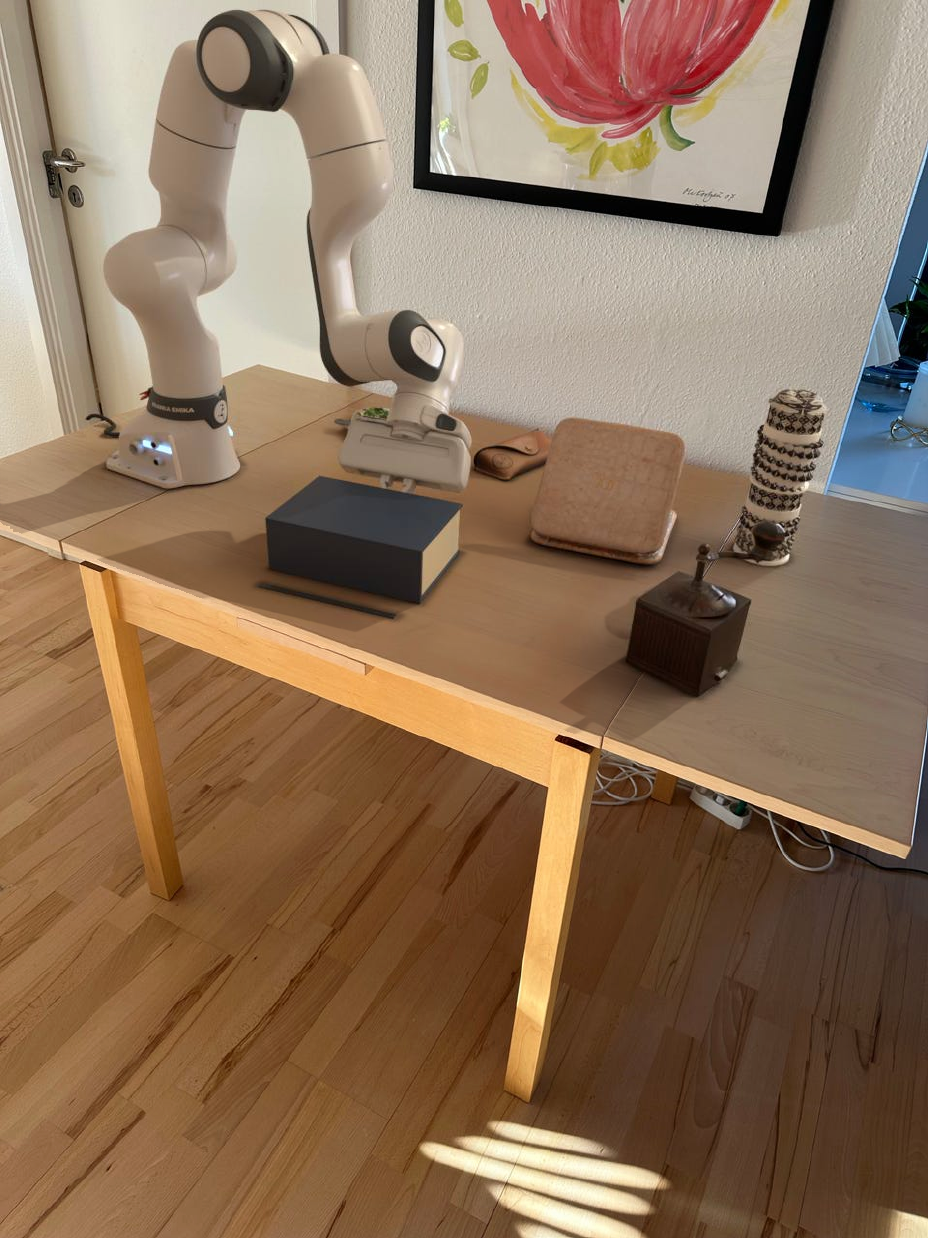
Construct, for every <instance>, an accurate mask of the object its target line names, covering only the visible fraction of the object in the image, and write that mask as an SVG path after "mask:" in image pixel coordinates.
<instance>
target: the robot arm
mask: <svg viewBox="0 0 928 1238" xmlns="http://www.w3.org/2000/svg"><path fill="white" fill-rule="evenodd" d="M247 110H248V111H261V112H269V113H276V112H278V111H279V110H281V111H283V112H285V113H286V114H288V115H289V116H290V117H291V118H292V119H293V121H294V123H295V124H296V126H297V128H298V131H299V134H300V137H301V141H302V144H303V149H304V152H305V157H306V160H307V165H308V169H309V173H310V174H309V175H310V181H311V202H310V208H309V210H308V211H307V214H306V238H307V239H306V240H307V247H308V254H309V261H310V268H311V274H312V279H313V287H314V288H313V289H314V294H315V300H316V306H317V313H318V321H319V322H318V323H319V354H320V360H321V362H322V365H323V367H324V368H325V370H326V371H327V373H328V374H329V375H330V376H331V378H332V379H333V380H334V381H336V382H337V383H338V384H340V385H342V386H345V387H355V386H360V385H364V384H370V383H374V382H387V381H391V382H392V383H394V384H395V385H396V391H395V392H394V395H393V397H392V400H391V404H390V407H389V409H390V410H389V413H388V416H387V419H386V418H379V417H370V416H367V415H362V416H361V417H358V418H356V419H354V420H352V421H351V420H350V421H351V423H350V425H349V429H347V434H346V437H345V439H344V440H343V442H342V445H341V447H340V450H339V452H338V455H337V461H338V464H339V466H340V467H341V468H342V469H343V471H344V472H345V473H347V474H353V475H357V476H362V477H363V476H364V477H368V478H374V479H379V484H380V488H385V489H389V488H393V485H394V483H402V485H403V488H402V489H401V490H400V492H405V493H410V494H415V491H416V489H417V486H419V487H422V488H429V489H433V490H439V491H444V492H450V493H455V494H460V493H462V492H463V491H464V490H465V489H466V488H467V485H468V483H469V478H470V473H471V464H472V458H471V454H470V452H469V450H470V449H471V447H472V444H473V440H472V436H471V433H470V431H469V429H468V427H467V426H466V424H465V423H464V421H462V420H461V419H459V418H457V417H455V416H453V415H451V414H450V401H451V399H452V397H453V395H454V394H455V392H456V390H457V386H458V383H459V380H460V375H461V372H462V367H463V364H464V363H463V362H464V355H465V354H464V353H465V343H464V342H465V340H464V336H463V335H462V332H461V331H460V330H459V329H458V328H457V327H456V326H455V325H454V324H452V323H451V322H449V321H448V320H446V319H443V318H440V317H428V318H425V317H423V316H422V315H421V314H419V312H416V311H415V310H412V309H398V310H388V311H382V312H379V313H373V314H365V315H364V314H363V315H362V314H361V313H360V312H359V310H358V307H357V301H356V294H355V293H356V292H355V286H354V278H353V271H352V264H351V253H352V248H353V244H354V242H355V240H356V239H357V237H358V236H359V234H360V233H361V232H362V231H363V230H364V229H365V228H366V227H367V226H368V225H369V224H370V223H371V222H373V221H374V220H375V219H376V218H377V217H378V216H379V215H380V214H381V213H382V211H383V210H384V209H385V207H386V206H387V204H388V202H389V200H390V198H391V196H392V192H393V189H394V181H395V180H394V165H393V161H392V155H391V151H390V148H389V144H388V143H389V142H388V140H387V135H386V131H385V126H384V124H383V120H382V116H381V114H380V110H379V107H378V104H377V100H376V98H375V95H374V92H373V90H372V87H371V85H370V83H369V79H368V78H367V76H366V73H365V71H364V69H363V67H362V66H361V64H360V63H359V62H358V61H356V60H355V59H354V58H352V57H351V56H348V55H346V54H345V55H344V54H340V53H331V52H330V49H329V46H328V43H327V42H326V39H325V38H324V36H323V35H322V33H321V32H320V30H318V28H316V27H315V25H314V24H312V23H311V22H309V21H308V20H306V19H304V18H302V17H301V16H298V15H295V14H287V13H284V12H281V11H276V10H271V9H258V10H241V9H231V10H227V11H223V12H221V13H217V15H215V16H213V17H211V18H210V19H209V20H208V21H207V22H206V23H205V24H204V25H203V27H202V29H201V31H200V32H199V36H198V38H197V39H191V40H186V41H183V42H181V43H180V44H179V45H177V47H175V49H174V51H173V52H172V55H171V58H170V61H169V63H168V66H167V69H166V73H165V75H164V78H163V83H162V86H161V90H160V94H159V99H158V104H157V109H156V115H155V120H154V127H153V135H152V141H151V149H150V156H149V164H148V171H147V172H148V173H147V174H148V178H149V181H150V183H151V185H152V186H153V188H154V189H155V190H156V191H157V192H158V197H159V205H160V218H159V221H158V223H157V225H156V226H155V227H151V228H146V229H142V230H139V231H134V232H131V233H129V234H128V235H126V236H125V237H123V238H122V239H120V240H119V241H118V242H116V243H115V244H113V245H112V246H111V247H110V248H109V249H108V250H107V252H106V254H105V256H104V260H103V264H102V265H103V267H102V269H103V277H104V281H105V283H106V286H107V288H108V290H109V292H110V293H111V295H112V296H113V297H114V299H115V300H116V301H117V302H118V303H120V304H121V305H122V306H123V307H124V308H126V309H127V310H128V311H129V312H130V313H131V314H132V316H133V317H134V319H135V321H136V323H137V325H138V328H139V329H140V331H141V334H142V337H143V340H144V343H145V347H146V352H147V359H148V365H149V370H150V378H151V383H152V386H150V387H148V388H147V390H145V391H143V392H141V393H139V396H141V397H140V398H139V400H140V401H143V400H146V399H147V403H146V408H145V409H144V410H142V411H141V412H140V413H139V414H137V415H136V416H135V417H134V418H132V419H131V420H130V421H129V422H128V423H126V424H124V426H123V427H122V428H121V430H120V431H119V432H118V431H116V432H114V430H115V429H116V428H117V424H116V422H114V421H113V420H112V419H110V418H109V417H107V416H105V415H103V414H99V413H90V414H88V415H87V416H86V417H85V421H91V420H92V419H100V420H102V421H104V422H106V423H108V424H109V425H110V426H109V427H107V428H105V429H104V430H103V433H104V435H105V436H108V437H117V438H118V442H117V443H118V450H116V451H115V452H114V453H112V454H111V455H110V456H108V457H107V459H106V463H105V464H106V466H105V467H106V469H108V470H111V471H114V472H117V473H119V474H122V475H125V476H128V477H131V478H133V479H136V480H139V481H142V482H145V483H148V484H151V485H154V486H157V487H159V488H161V489H175V488H179V487H184V486H192V485H204V484H212V483H216V482H220V481H223V480H226V479H228V478H231V477H232V476H234V475H235V474H236V473H237V472H239V470H240V469H241V463H240V461H239V458H238V456H237V453H236V450H235V446H234V444H233V440H232V437H233V436H234V434H233V433H234V432H233V430H232V429H231V427H230V425H229V421H228V417H229V406H228V405H229V404H228V397H227V388H226V386H225V385H224V384H223V373H222V372H223V371H222V363H221V354H220V353H221V352H220V344H219V340H218V338H217V337H216V335H215V334H214V332H212V331H211V330H210V329H208V328H206V326H205V324H204V322H203V320H202V317H201V316H200V312H199V308H198V304H197V303H198V302H197V301H198V297H200V296H203V295H207V294H209V293H211V292H213V291H216V290H217V289H219V288H220V287H221V286H222V285H223V284H224V283H225V282H226V281H228V279H230V278H231V276H232V275H233V273H234V272H235V270H236V267H237V262H238V254H237V253H238V252H237V249H236V245H235V242H234V240H233V237H231V235H230V233H229V231H228V230H229V229H228V216H227V215H228V214H227V202H228V193H229V186H230V181H231V175H232V170H233V165H234V160H235V155H236V149H237V146H238V145H237V144H238V139H239V133H240V128H241V124H242V119H243V118H244V117H243V116H244V114H245V113H246V111H247ZM358 420H361V421H358ZM112 431H113V432H112Z"/></svg>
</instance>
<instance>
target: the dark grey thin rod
mask: <svg viewBox="0 0 928 1238" xmlns="http://www.w3.org/2000/svg"><path fill="white" fill-rule="evenodd" d="M258 587H259V588H263V589H267V590H271V591H275V592H280V593H284V594H288V595H291V596H297V597H301V598H305V599H309V600H313V601H318V602H322V603H326V604H329V605H333V606H339V607H343V608H347V609H351V610H356V611H359V612H363V613H368V614H371V615H377V616H379V617H380V616H381V617H385V618H389V619H395V617H397V613H392V612H388V611H384V610H379V609H375V608H371V607H367V606H363V605H358V604H354V603H350V602H345V601H341V600H337V599H333V598H328V597H324V596H320V595H316V594H312V593H308V592H303V591H300V590H295V589H291V588H286V587H283V586H278V585H273V584H269V583H266V582H261V584H259V586H258Z"/></svg>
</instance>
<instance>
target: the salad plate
mask: <svg viewBox="0 0 928 1238" xmlns="http://www.w3.org/2000/svg"><path fill="white" fill-rule="evenodd" d="M389 410H390V407H389V408H388V407H382V406H381V407H376V406H370V407H365V408H362V409H358V410H356V411H354V413H353V414H352V416H351V418H350V420H347V419H343V418H334V420H333V423H334V424H336V425H338V426H341V427H343V428H345V429H346V430H348V429H349V425H350V423H351V421H352V420H354V419H356V418H358V417H361V416H362V415H367V416H370V417H379V418H386V419H387V416H388V413H389ZM358 421H361V420H358Z"/></svg>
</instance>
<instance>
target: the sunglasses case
mask: <svg viewBox="0 0 928 1238" xmlns="http://www.w3.org/2000/svg"><path fill="white" fill-rule="evenodd" d="M551 443H552V441H551V440H549V439H548V438H547V437H546V436H545V435H544V434H543V433H542V432H540V430H539V428H538V427H537V428H534V429H533V430H531V431H528V432H526V433H523V434H519V435H517V436H514V437H511V438H508V439H506V440H504V441H500V442H498V443H495V444H493V445H489V446H485V447H482V448H481V449H479V450H477V451H476V453H475V454H474V455H473V460H472V461H473V466H474V468H475V470H476V471H479V472H481V473H482V474H484V475H487V476H489V477H493V478H496V479H499V480H504V481H509V480H511V479H513V478H515V477H517V476H518V475H520V474H524V473H526V472H529V471H531V470H533V469H536V468H538V467H541V466H545V464H546V460H547V457H548V453H549V450H550V447H551Z"/></svg>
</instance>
